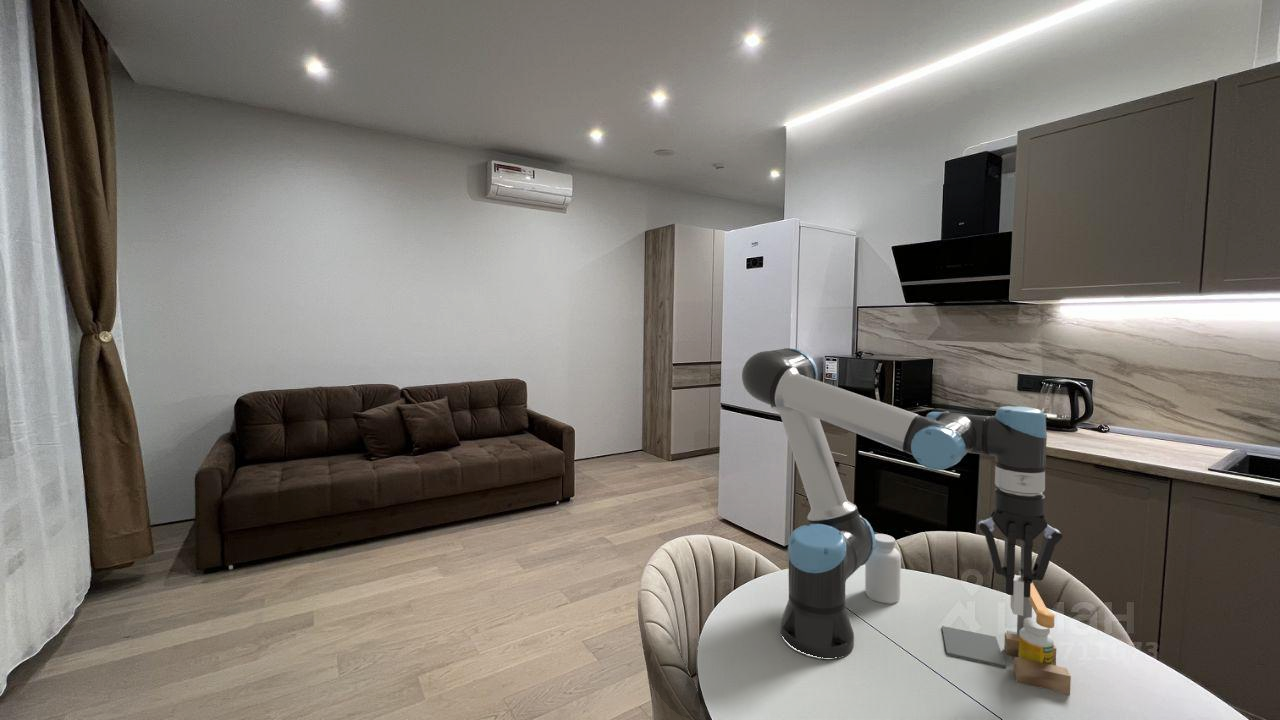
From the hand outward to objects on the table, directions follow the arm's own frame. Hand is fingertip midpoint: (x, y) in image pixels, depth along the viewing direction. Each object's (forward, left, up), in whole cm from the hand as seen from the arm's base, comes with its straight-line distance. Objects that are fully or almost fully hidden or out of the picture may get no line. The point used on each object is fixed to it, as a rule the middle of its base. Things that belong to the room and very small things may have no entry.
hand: (1016, 611), depth 97 cm
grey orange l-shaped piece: (+4, +6, -12) cm, 14 cm away
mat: (-6, +7, -13) cm, 16 cm away
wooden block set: (+4, +7, -13) cm, 15 cm away
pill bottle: (-23, +22, -13) cm, 34 cm away
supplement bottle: (+4, +4, -13) cm, 14 cm away
